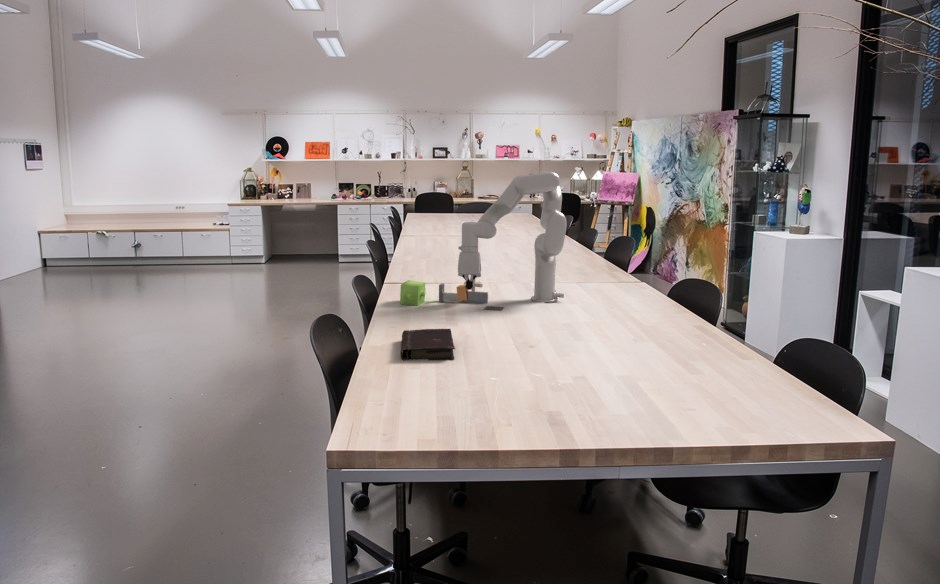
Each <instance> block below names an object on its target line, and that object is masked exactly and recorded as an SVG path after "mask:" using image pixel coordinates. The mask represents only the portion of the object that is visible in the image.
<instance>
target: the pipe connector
mask: <svg viewBox="0 0 940 584" xmlns="http://www.w3.org/2000/svg"><path fill="white" fill-rule="evenodd" d="M463 285H466V281H464V282H463ZM476 288H483V283H482V281H476V278H475V279H474V280H473V288H472V289H471V290H470V291H473V292H476Z"/></svg>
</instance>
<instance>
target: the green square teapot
mask: <svg viewBox="0 0 940 584" xmlns="http://www.w3.org/2000/svg"><path fill="white" fill-rule="evenodd" d="M399 295H400V296H399V297H400V300H399V304H400V305H404V306H405V305H407V306H419V305H421V304H422V303H424V302H425V300H426V298H425V297H426V295H427V294H426V282H424V281H418V280H410V279H409V280H406V281H404V282H403V283H401V284H400V293H399Z"/></svg>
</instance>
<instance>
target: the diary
mask: <svg viewBox="0 0 940 584" xmlns="http://www.w3.org/2000/svg"><path fill="white" fill-rule="evenodd" d="M400 343H401V345H400V347H401V349H400V359H401V361H404V360H405V354H406V358H407V360H408V361H409V360H410V358H411V360H415V361H419V360H427V361H452V360H455V356H454V351H453V350H456V347H455V345H454V344H455V343H454V339H453V335H452V329H451V328H424V329H421V328H420V329H412V330H411V329H410V330H409V329H407V330H403V332H402V334H401V342H400Z"/></svg>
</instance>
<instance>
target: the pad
mask: <svg viewBox="0 0 940 584" xmlns="http://www.w3.org/2000/svg"><path fill="white" fill-rule="evenodd" d="M504 308H505V306H493V305H486V306H485V307H484V308H483V309H482V310H483V311H494V312H495V311H499V312H502V311H503V309H504Z"/></svg>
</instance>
